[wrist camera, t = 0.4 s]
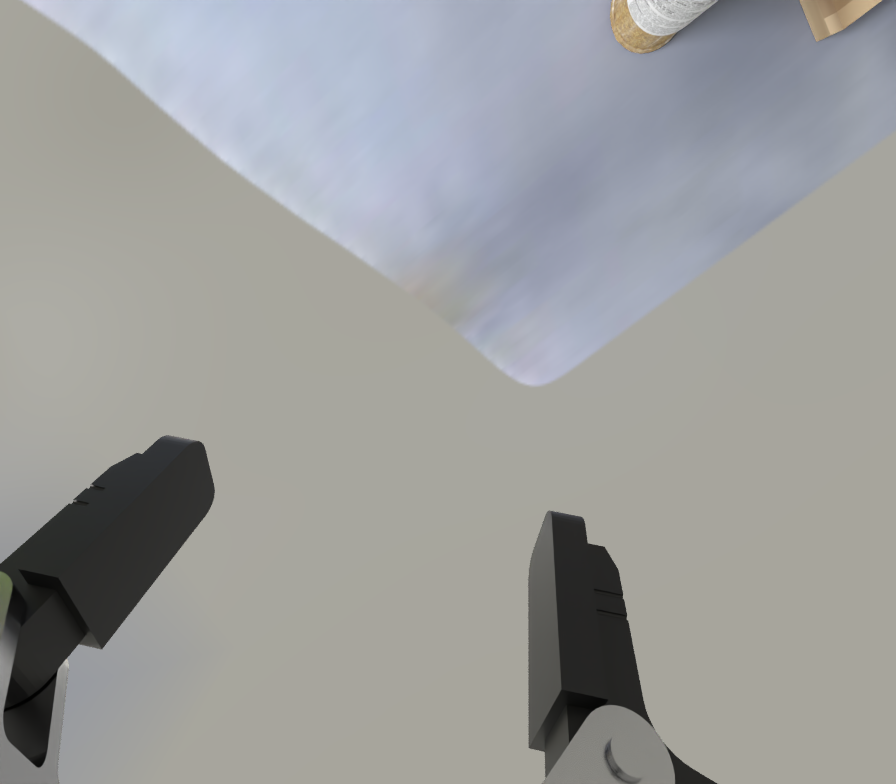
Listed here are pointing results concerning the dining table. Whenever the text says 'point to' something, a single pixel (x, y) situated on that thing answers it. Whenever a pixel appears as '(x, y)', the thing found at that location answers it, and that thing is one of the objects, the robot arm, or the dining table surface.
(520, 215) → the dining table surface
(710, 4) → the spice jar
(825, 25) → the wooden stand
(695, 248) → the dining table surface
